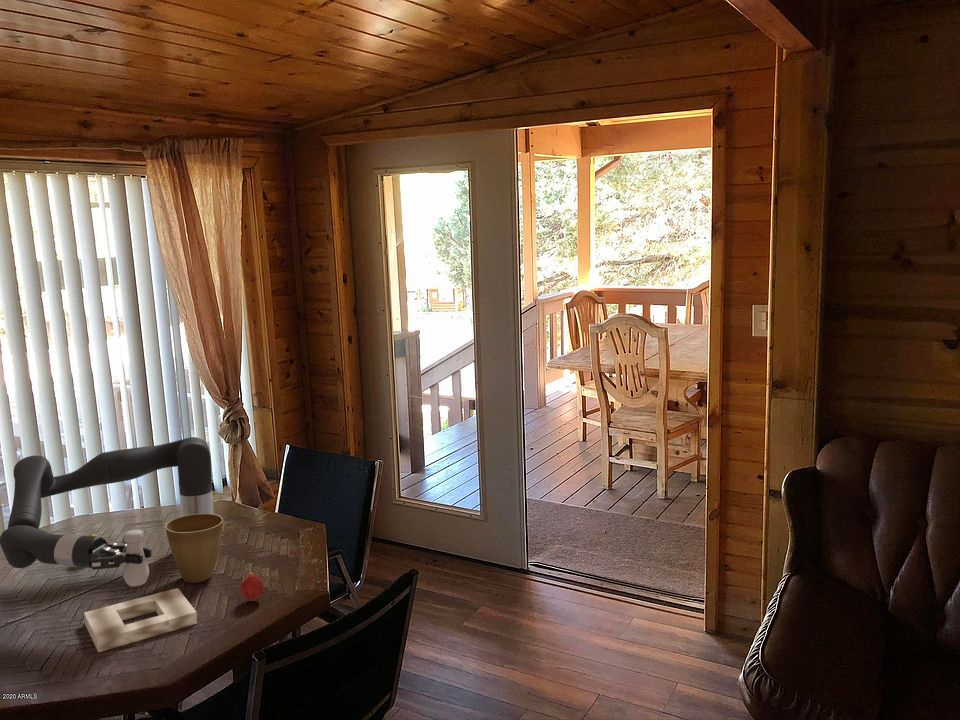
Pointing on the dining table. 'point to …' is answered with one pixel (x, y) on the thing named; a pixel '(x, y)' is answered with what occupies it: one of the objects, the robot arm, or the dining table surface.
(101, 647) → the hole board
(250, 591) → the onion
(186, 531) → the plant pot
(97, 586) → the dining table surface
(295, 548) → the dining table surface
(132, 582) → the salt shaker
